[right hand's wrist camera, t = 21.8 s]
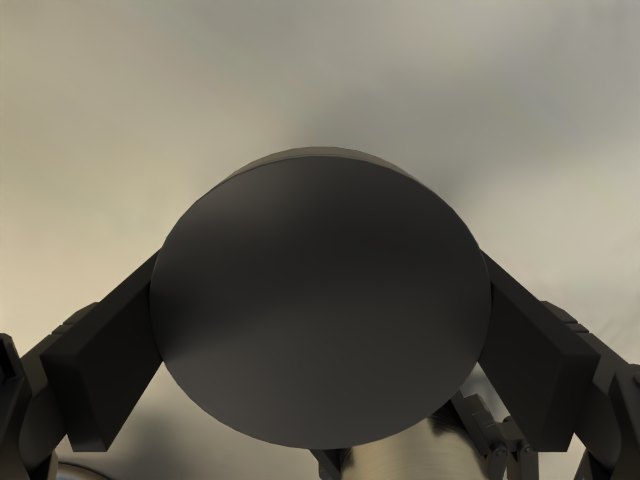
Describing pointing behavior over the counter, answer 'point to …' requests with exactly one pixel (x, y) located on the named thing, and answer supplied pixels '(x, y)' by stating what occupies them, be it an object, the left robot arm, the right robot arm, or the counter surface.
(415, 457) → the jar
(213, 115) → the counter surface
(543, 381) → the right robot arm
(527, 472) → the left robot arm
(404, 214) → the lid
